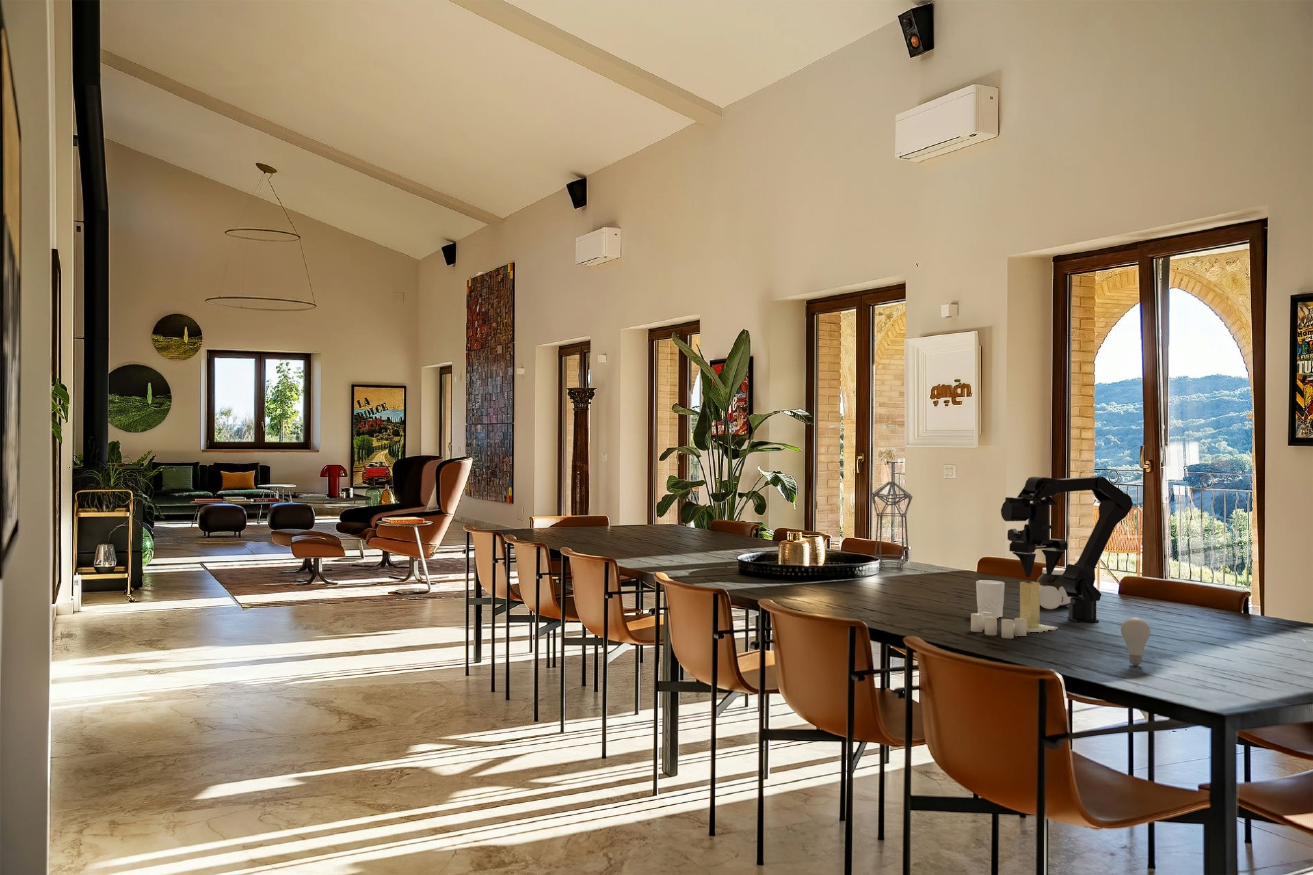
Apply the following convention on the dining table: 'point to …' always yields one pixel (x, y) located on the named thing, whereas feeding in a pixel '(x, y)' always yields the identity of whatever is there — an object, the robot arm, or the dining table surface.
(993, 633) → the spacers
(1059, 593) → the spread jar
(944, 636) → the dining table surface
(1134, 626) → the lightbulb
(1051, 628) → the mat
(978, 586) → the white cup
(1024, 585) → the brass post
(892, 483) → the geometric lantern
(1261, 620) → the dining table surface
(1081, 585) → the robot arm
